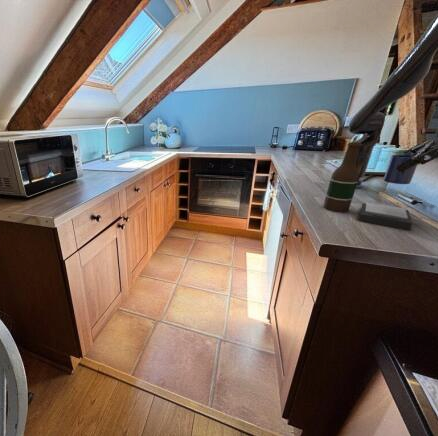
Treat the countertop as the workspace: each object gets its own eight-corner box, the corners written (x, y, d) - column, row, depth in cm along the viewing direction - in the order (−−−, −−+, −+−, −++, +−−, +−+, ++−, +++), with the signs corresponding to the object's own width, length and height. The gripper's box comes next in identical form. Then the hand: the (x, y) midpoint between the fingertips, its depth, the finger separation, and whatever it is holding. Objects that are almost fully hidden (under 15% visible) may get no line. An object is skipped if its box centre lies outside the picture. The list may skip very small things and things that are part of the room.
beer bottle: (325, 203, 97) (343, 140, 87) (350, 208, 91) (371, 141, 82) (320, 208, 92) (338, 142, 82) (346, 213, 86) (368, 143, 77)
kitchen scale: (360, 209, 90) (363, 201, 89) (405, 216, 83) (409, 208, 82) (358, 220, 81) (361, 212, 80) (409, 230, 73) (413, 221, 72)
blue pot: (382, 178, 82) (391, 154, 79) (409, 181, 78) (419, 155, 75) (383, 182, 78) (392, 156, 75) (411, 185, 74) (421, 158, 71)
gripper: (446, 117, 73) (380, 155, 83) (472, 118, 61) (392, 162, 72) (464, 136, 72) (395, 172, 82) (493, 140, 61) (410, 182, 71)
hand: (394, 167), depth 77 cm, fingers closed on blue pot, 6 cm apart
